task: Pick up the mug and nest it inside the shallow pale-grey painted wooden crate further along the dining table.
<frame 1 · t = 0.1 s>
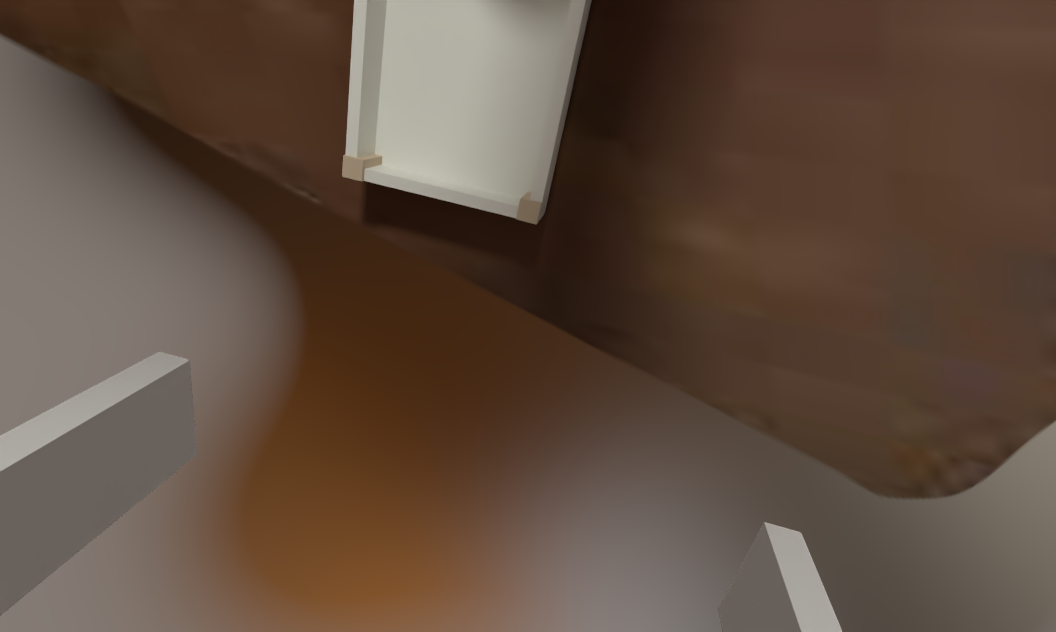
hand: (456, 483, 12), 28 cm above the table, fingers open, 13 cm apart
crate: (474, 60, 34), on the table
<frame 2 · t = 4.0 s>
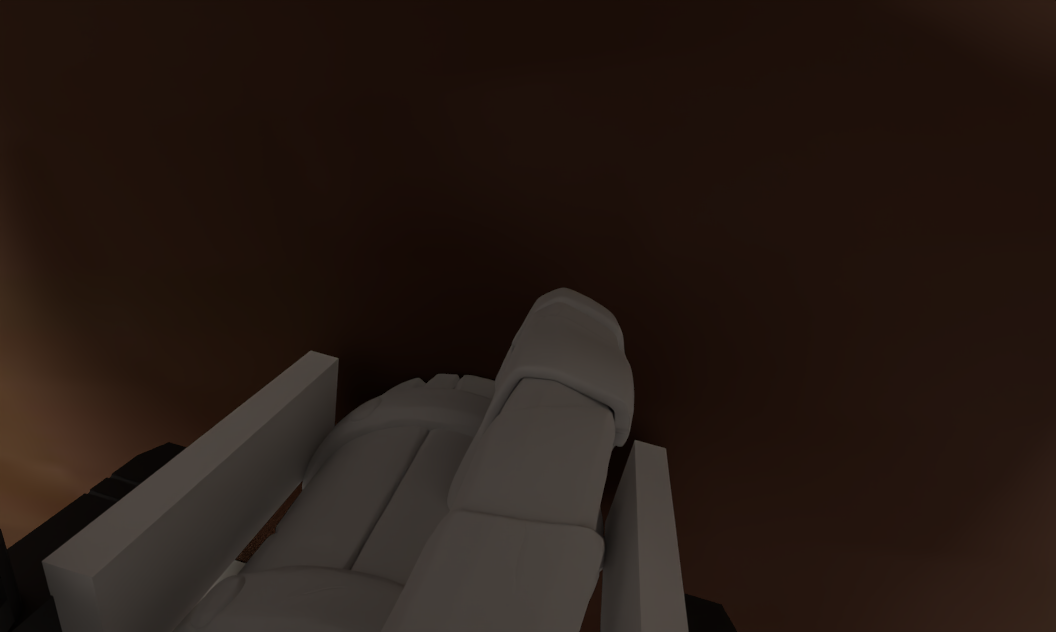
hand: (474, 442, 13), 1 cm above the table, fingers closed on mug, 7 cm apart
mug: (500, 426, 14), on the table, touching gripper
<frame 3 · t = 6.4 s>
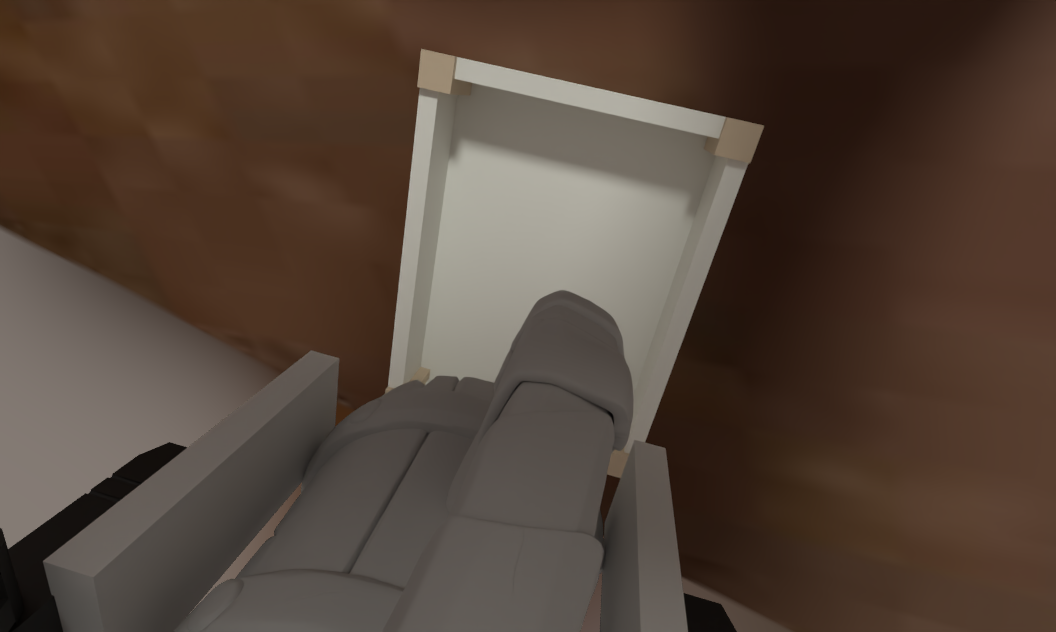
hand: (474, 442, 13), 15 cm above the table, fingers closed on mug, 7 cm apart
crate: (551, 269, 27), on the table
mug: (499, 428, 14), point 14 cm above the table, touching gripper
when the fingers open (4 cm above the table, at t = 9.2 s): mug drops 3 cm, resting on crate.
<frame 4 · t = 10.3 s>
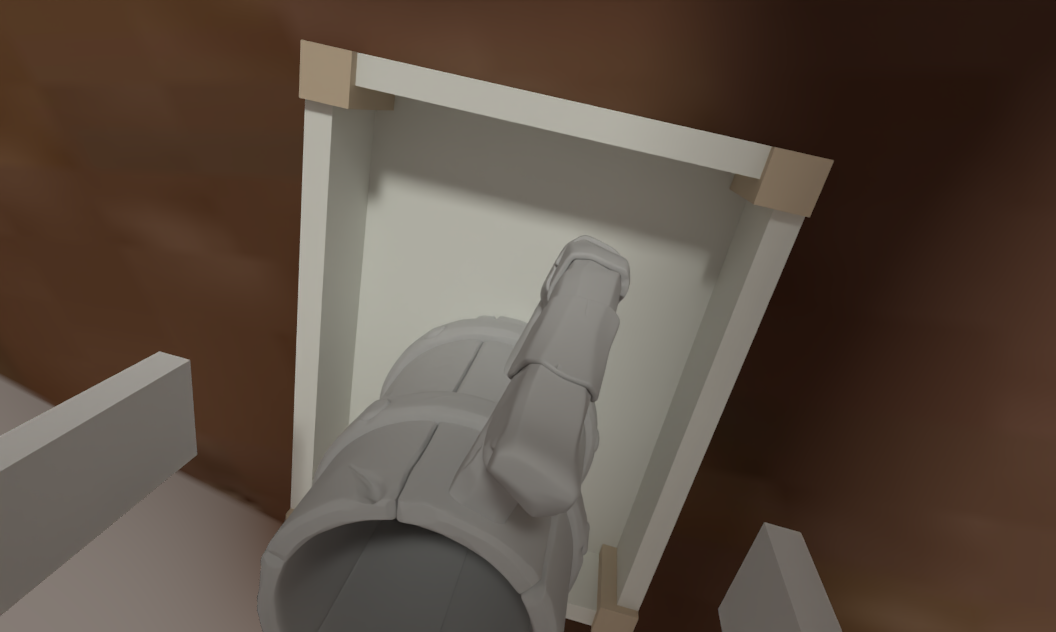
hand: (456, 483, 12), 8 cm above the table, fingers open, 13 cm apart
crate: (515, 346, 20), on the table
mug: (522, 358, 19), point 1 cm above the table, touching crate
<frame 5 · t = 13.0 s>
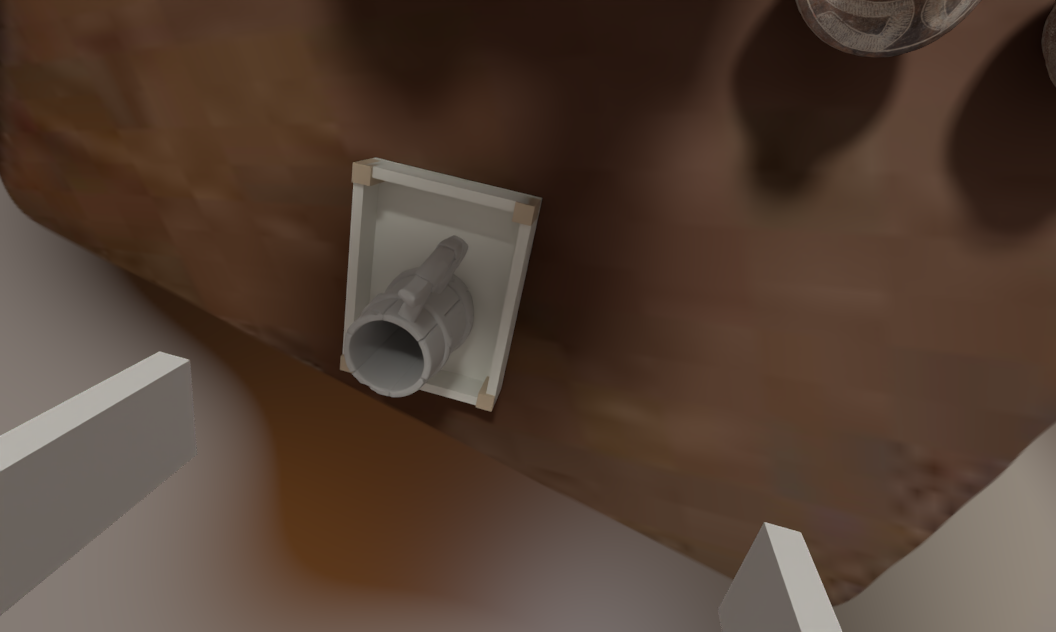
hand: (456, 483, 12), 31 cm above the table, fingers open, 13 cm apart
crate: (442, 281, 44), on the table
mug: (444, 285, 43), point 1 cm above the table, touching crate
pottery: (975, 2, 31), on the table
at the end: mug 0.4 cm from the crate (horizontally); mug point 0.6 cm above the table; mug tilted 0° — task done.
